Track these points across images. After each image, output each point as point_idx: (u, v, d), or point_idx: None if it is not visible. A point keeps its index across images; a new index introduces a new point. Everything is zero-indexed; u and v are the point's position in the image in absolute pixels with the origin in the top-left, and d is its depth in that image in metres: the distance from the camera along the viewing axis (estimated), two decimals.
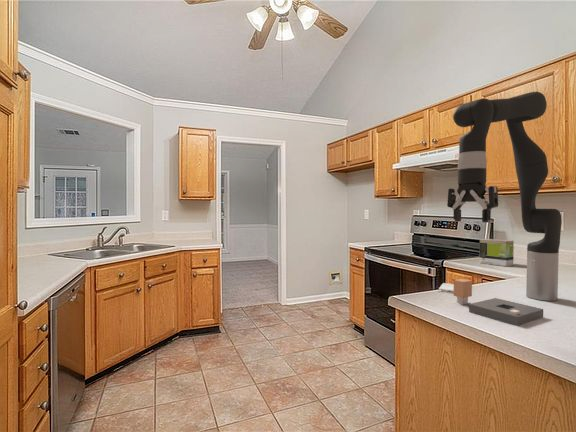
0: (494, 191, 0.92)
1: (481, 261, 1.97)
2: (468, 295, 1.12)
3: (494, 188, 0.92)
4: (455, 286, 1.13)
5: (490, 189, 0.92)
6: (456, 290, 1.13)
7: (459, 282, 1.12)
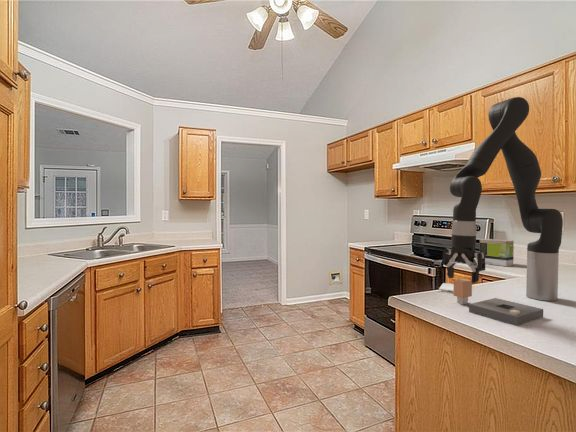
0: (482, 257, 1.07)
1: None
2: (468, 295, 1.12)
3: (482, 255, 1.07)
4: (455, 286, 1.13)
5: (478, 255, 1.07)
6: (456, 290, 1.13)
7: (459, 282, 1.12)
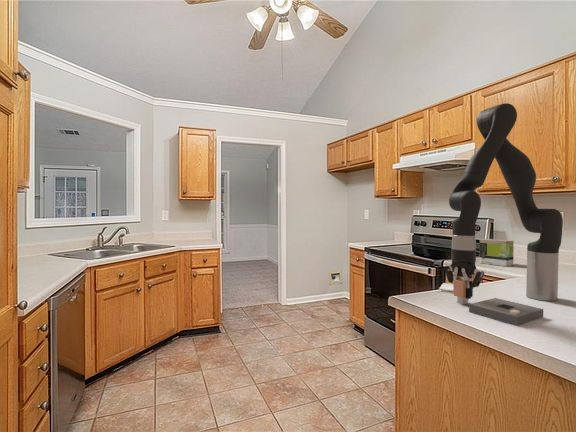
0: (480, 276, 1.08)
1: (481, 261, 1.97)
2: None
3: (481, 274, 1.08)
4: (455, 286, 1.13)
5: (477, 274, 1.08)
6: (456, 290, 1.13)
7: (459, 282, 1.12)
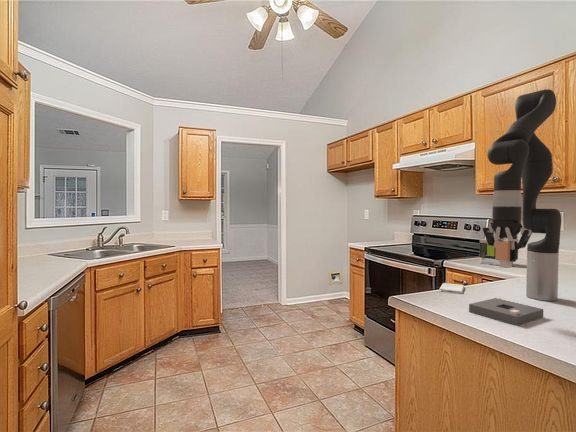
0: (528, 235, 0.95)
1: (481, 261, 1.97)
2: None
3: (529, 232, 0.95)
4: (497, 248, 1.01)
5: (525, 232, 0.95)
6: (499, 252, 1.01)
7: (502, 243, 1.00)
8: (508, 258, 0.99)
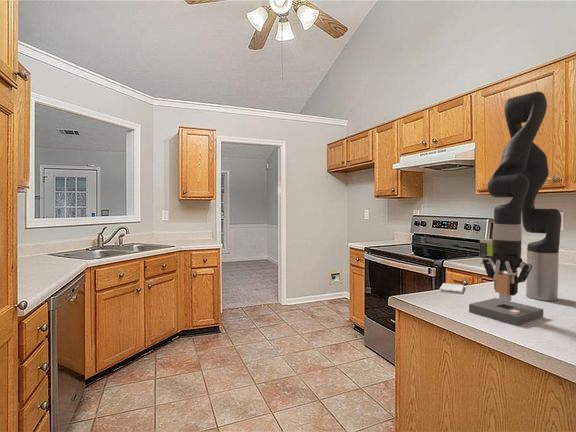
0: (527, 270, 0.95)
1: (481, 261, 1.97)
2: None
3: (529, 267, 0.95)
4: (497, 281, 1.01)
5: (525, 267, 0.95)
6: (498, 286, 1.01)
7: (502, 277, 1.00)
8: (508, 292, 0.99)
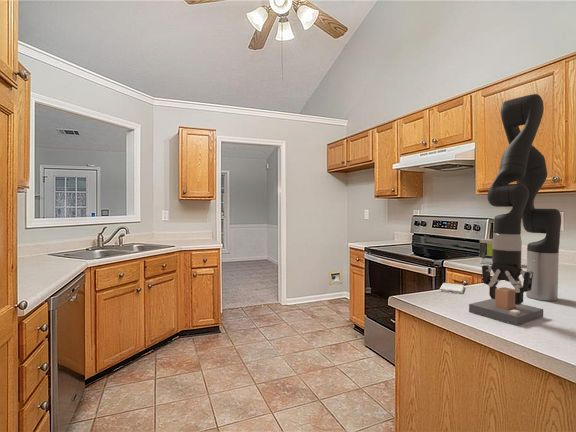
0: (529, 277, 0.95)
1: (481, 261, 1.97)
2: (512, 306, 1.00)
3: (530, 274, 0.95)
4: (497, 296, 1.01)
5: (526, 275, 0.95)
6: (498, 300, 1.01)
7: (502, 291, 1.00)
8: (508, 306, 0.99)
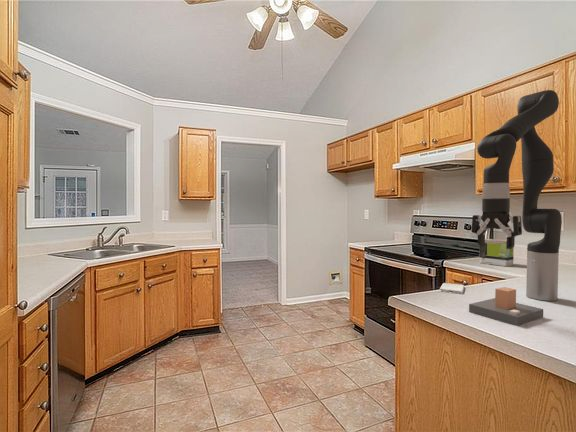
0: (518, 221, 0.99)
1: (481, 261, 1.97)
2: (512, 306, 1.00)
3: (518, 218, 0.99)
4: (497, 296, 1.01)
5: (514, 219, 0.99)
6: (498, 300, 1.01)
7: (502, 291, 1.00)
8: (508, 306, 0.99)
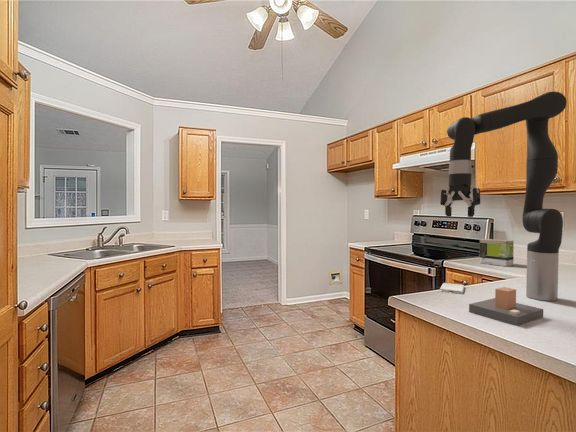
0: (477, 192, 1.15)
1: (481, 261, 1.97)
2: (512, 306, 1.00)
3: (477, 189, 1.15)
4: (497, 296, 1.01)
5: (474, 190, 1.15)
6: (498, 300, 1.01)
7: (502, 291, 1.00)
8: (508, 306, 0.99)
